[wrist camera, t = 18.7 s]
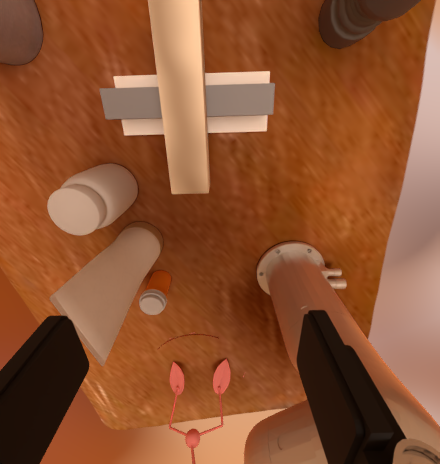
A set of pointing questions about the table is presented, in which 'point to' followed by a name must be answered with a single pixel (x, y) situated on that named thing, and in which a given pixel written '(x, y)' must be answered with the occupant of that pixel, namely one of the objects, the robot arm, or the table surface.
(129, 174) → the toiletry set
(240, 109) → the ridge stand
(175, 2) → the birch bar
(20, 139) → the table surface
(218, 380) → the figurine
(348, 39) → the candle holder
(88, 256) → the table surface
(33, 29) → the pillar candle
